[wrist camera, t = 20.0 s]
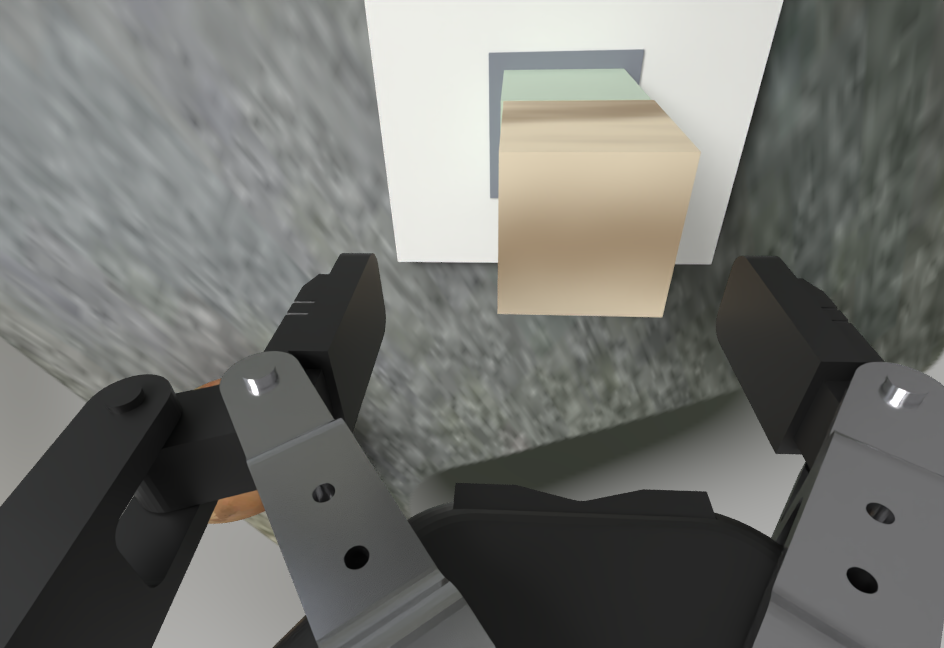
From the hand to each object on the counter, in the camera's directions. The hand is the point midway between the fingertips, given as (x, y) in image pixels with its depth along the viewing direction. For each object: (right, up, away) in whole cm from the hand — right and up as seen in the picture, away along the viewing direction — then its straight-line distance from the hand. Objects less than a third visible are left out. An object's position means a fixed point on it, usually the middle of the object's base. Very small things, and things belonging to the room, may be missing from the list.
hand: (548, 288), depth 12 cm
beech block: (+2, +5, +9) cm, 10 cm away
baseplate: (+3, +9, +14) cm, 18 cm away
